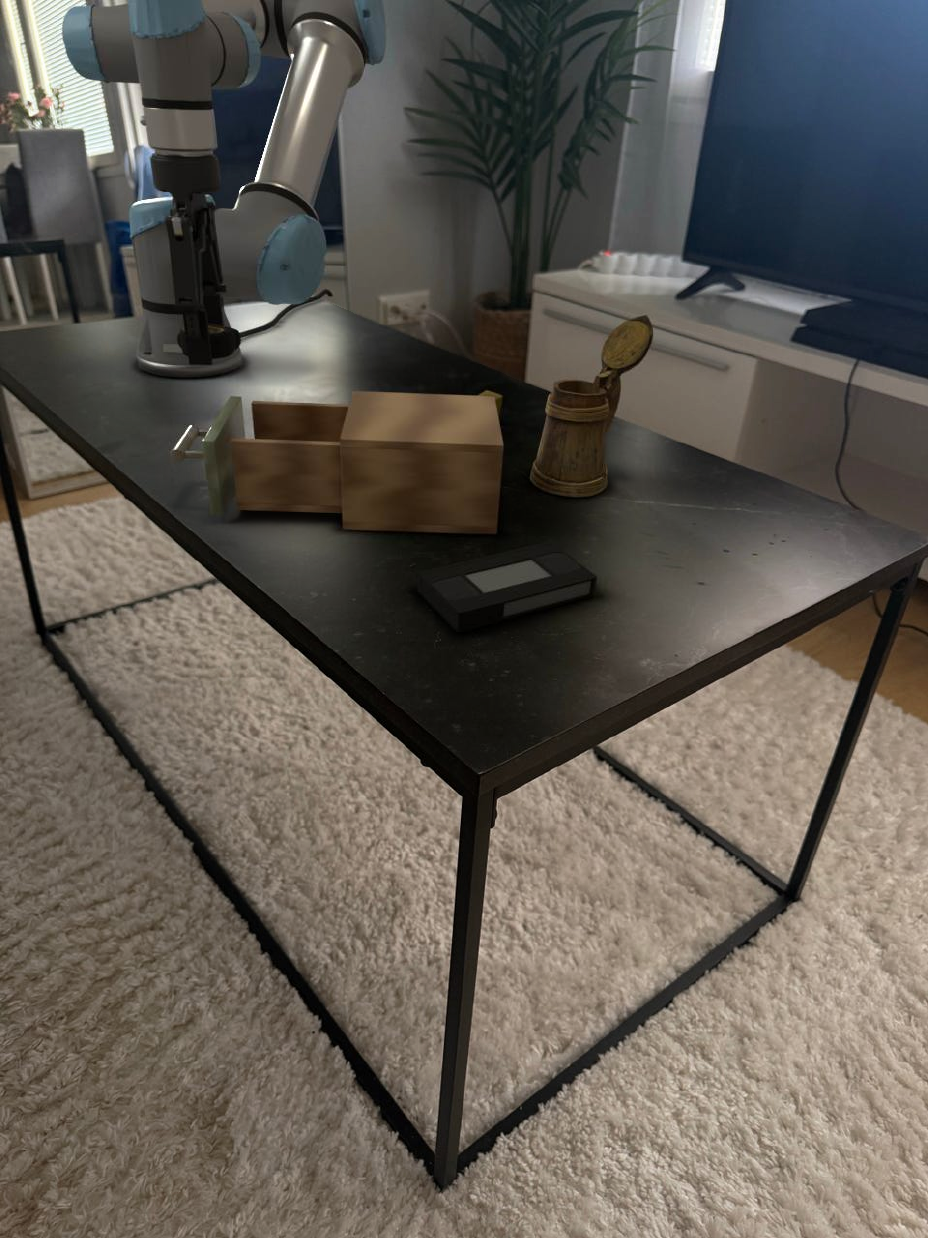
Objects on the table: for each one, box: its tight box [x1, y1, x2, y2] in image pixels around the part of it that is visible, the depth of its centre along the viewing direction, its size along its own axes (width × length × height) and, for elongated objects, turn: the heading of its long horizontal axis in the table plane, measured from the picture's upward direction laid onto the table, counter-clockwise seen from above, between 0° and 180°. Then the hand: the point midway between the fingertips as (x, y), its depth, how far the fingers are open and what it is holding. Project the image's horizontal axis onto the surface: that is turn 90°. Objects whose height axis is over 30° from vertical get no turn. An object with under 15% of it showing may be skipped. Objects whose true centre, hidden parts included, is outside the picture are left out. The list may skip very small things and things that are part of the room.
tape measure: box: [177, 324, 242, 361], centre depth 106 cm, size 7×7×4 cm
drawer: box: [169, 395, 349, 516], centre depth 88 cm, size 19×13×8 cm
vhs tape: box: [417, 541, 598, 633], centre depth 75 cm, size 8×14×2 cm, turn 120°
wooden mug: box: [529, 314, 654, 498], centre depth 94 cm, size 9×14×18 cm, turn 126°
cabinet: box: [340, 390, 505, 535], centre depth 88 cm, size 16×15×10 cm
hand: (208, 354), depth 108 cm, fingers closed on tape measure, 7 cm apart
